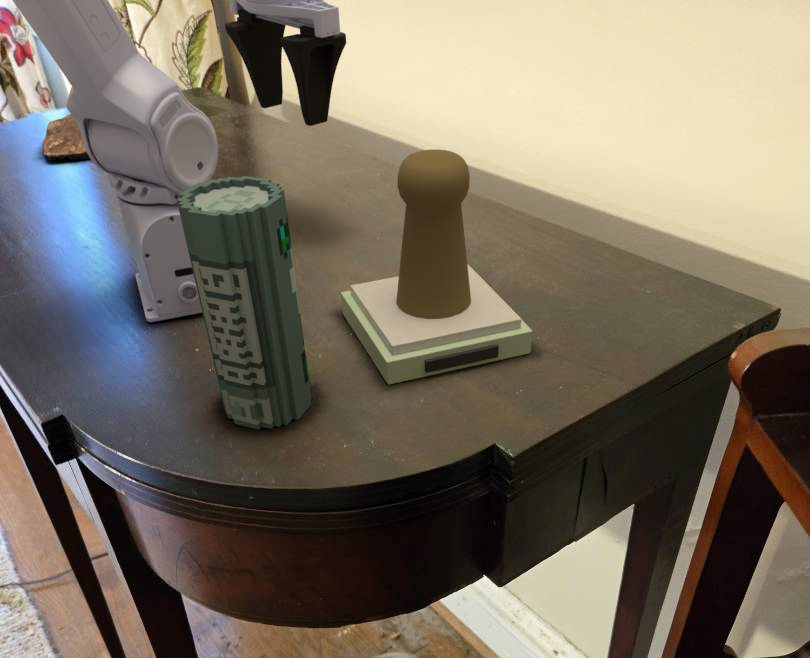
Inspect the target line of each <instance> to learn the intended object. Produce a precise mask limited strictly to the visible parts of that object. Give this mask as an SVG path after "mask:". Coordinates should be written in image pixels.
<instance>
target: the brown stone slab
mask: <svg viewBox="0 0 810 658" xmlns="http://www.w3.org/2000/svg"><path fill="white" fill-rule="evenodd" d="M45 132H46V133H45V138H44V139H43V140H42V142H41V150H42V153H43V154H42V156H43V157H44V158H45V159H46V160H48V161H60V160H64V159H66V158H68V159H69V160H70V161H74V160H85V159H86V160H87V159H90V157H89V155H88V154H87V152H86V149H85V146H84V143H83V139H82V135H81V131H80V129H79V126H78V124H77V122H76V120H75V119H74V117H73V116H72V114H71V113H70V114H67V115H65V116H64V117H62V118H59V119H58V118H57V119H54V120H50V121H48V124H47V126H46V131H45Z"/></svg>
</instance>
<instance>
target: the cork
mask: <svg viewBox="0 0 810 658" xmlns="http://www.w3.org/2000/svg"><path fill="white" fill-rule="evenodd" d="M397 173H398V174H397V180H396V181H397V190H398V193H399V197H400V198H401V200H402V201H403V202H404V204H405V209H404V211H405V212H404V221H403V229H402V231H403V232H402V242H401V250H400V252H401V253H400V262H399V271H398V276H399V280H398V290H397V300H396V304H397V306H398V307H399V309H400V310H402V311H403V312H404V313H406V314H409V315H411V316H414V317H419V318H425V319H441V318H447V317H452V316H455V315H457V314H460V313H462V312H463V311H465V310H466V309H468V307H469V305H470V304H471V294H470V285H469V275H468V265H469V264H468V256H467V247H466V246H467V245H466V238H465V237H466V236H465V228H464V217H463V208H462V203H463V202H464V200H465V199H466V197H467V196H468V193H469V189H470V179H471V178H470V170H469V165H468V164H467V162H466V159H464V158H463V156H461V155H460V154H458V153H456V152H454V151H452V150H446V149H424V150H420V151H419V150H418V151H415V152H413V153H411V154H409V155H408V156H406V157H405V158H403V160H402V161H401V163H400V165H399V168H398V171H397ZM467 264H468V265H467Z"/></svg>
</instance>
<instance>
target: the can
mask: <svg viewBox="0 0 810 658" xmlns="http://www.w3.org/2000/svg"><path fill="white" fill-rule="evenodd" d="M179 197H180V199H178V200H177V204H178V208H179V213H180V217H181V222H182V226H183V230H184V235H185V239H186V243H187V248H188V252H189V256H190V261H191V265H192V270H193V274H194V278H195V283H196V287H197V291H198V296H199V300H200V305H201V309H202V313H201V314H202V317H203V322H204V326H205V331H206V334H207V335H206V336H207V339H208V344H209V348H210V352H211V356H212V361H213V365H214V369H215V374H216V378H217V382H218V383H217V384H218V387H219V391H220V397H221V399H222V405H223V409H224V410H225V414H226V416H227V419H230V420H233V423H234V425H238V426H242V427H247V428H250V429H254V430H260V429H261V428H266V429H269V430H272V429H273V428H274V427H277V428H280V427H281V426H282V425H285V426H288V425H289V424H290V423H291V422H292V420H295V421H298V420H299V419H300V418H301V417H302V416H303V415H304V414H305V413H306V411H307V410H308V409H309V408H310V407H311V406H312V403H311V400H312V392H311V385H310V376H309V369H308V368H309V367H308V362H307V353H306V346H305V338H304V332H303V324H302V323H303V322H302V316H301V309H300V301H299V300H300V299H299V292H298V285H297V279H296V271H295V263H294V255H293V248H292V240H291V233H290V226H289V225H290V224H289V217H288V210H287V202H286V195H285V189H283V188H282V185H281V186H280V183H279V182H273V181H272V179H270V178H263V177H256V176H247V175H242V176H240V177H236V176H227V177H226V178H224V177H219V178H218V179H213V178H212V179H211V180H209V181H207V182H206V183H204V184H202V183H197V184H196V185H194V186H192V187H191V188H189V189H188V190H186V191H184V192H183V193H181V194H179Z"/></svg>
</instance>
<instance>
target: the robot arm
mask: <svg viewBox="0 0 810 658" xmlns="http://www.w3.org/2000/svg"><path fill="white" fill-rule="evenodd" d="M228 2H229V8H230V14H232V15H236V16H238V17H236V20H234V21H230V22H226V23H225V24H224V27H225V32H226V34H227V35H228V37H229V38H230V39H231V41H232V43H233V44H234V46H235V47H236V49H237V51H238V53H239V55H240V57H241V59H242V61H243V63H244V65H245V68H246V70H247V73H248V76H249V78H250V82H251V85H252V86H253V90H254V92H255V95H256V98H257V100H258V103H259V105H260V108H262V109H268V108H273V107H276V106H280V105H283V95H284V94H283V93H284V89H283V88H284V87H283V86H284V85H283V70H282V57H283V55H282V54H283V51H284V53H285V55H286V57H287V60H288V63H289V65H290V68H291V70H292V74H293V77H294V80H295V85H296V88H297V94H298V101H299V105H300V111H301V114H302V119H303V121H304V124H305V125H306V126H309V127H312V126H317V125H320V124H323V123H327V122H328V118H329V113H330V112H329V111H330V105H331V96H332V89H333V84H334V78H335V75H336V70H337V68H338V64H339V61H340V58H341V56H342V53H343V51H344V49H345V48H346V45H347V34H346V33H345V32H342V31H341V24H340V9H339V6H335V5H333V4H330V3H328V2H326V1H325V0H228ZM12 3H14V4H15V6H16V8H17V9H18V10H19V12H20V13H21V15H22V17H23V18H24V19H25V21H26V22H27V23H28V25H29V27H31V28H32V30H33V32H34V34H35V35H36V36H37V38H38V40H40V42H41V44H42V45H43V47H44V48H45V49H46V51H47V52H48V53H49V55H50V56H51V58H52V60H53V61H54V62H55V64H56V65H57V67H58V68H59V70H60V71H61V72H62V74H63V75H64V76H65V78H66V80H68V82H69V84H70V85H71V88H70V91H69V93H68V97H67V100H66V109H67V111H68V112H69V113H70V114H72V116H73V117H74V119H75V120H76V122H77V124H78V126H79V129H80V131H81V135H82V139H83V143H84V146H85V149H86V152H87V154H88V155H89V157H90V158H89V159H90V160H91V162H92V163H93V164H94V166H96V167H97V168H98V169H99V170H101V171H102V172H104V173H105V174H107V177H108V180H109V184H110V187H111V188H112V189H115V192H116V195H117V200H118V203H119V207H120V209H121V211H120V212H121V214H122V217H123V221H124V225H125V228H126V232H127V235H128V240H129V242H130V246H131V249H132V253H133V257H134V260H135V263H136V268H137V271H138V272H136V273H135V275H134V277H135V280H136V284H137V288H138V291H139V297H140V299H141V300H140V301H141V304H142V307H143V312H144V316H145V319H146V321H147V322H149V323H155V322H161V321H165V320H166V321H167V320H170V319H171V320H172V319H176V318H182V317H187V316H191V315H197V314H203V313H202V309H201V305H200V300H199V296H198V291H197V287H196V283H195V278H194V274H193V270H192V265H191V261H190V256H189V252H188V248H187V243H186V239H185V235H184V230H183V226H182V222H181V217H180V213H179V208H178V204H177V200H178V199H180V197H179V194H181V193H183V192H184V191H186V190H188V189H189V188H191V187H192V186H194V185H196V184H197V183H202V184H204V183H206V182H207V181H209V180H211V179H212V180H213V177H214V175H215V173H216V169H217V166H218V160H219V143H218V137H217V133H216V130H215V127H214V125H213V123H212V122H211V120H210V119H209V117H208V116H207V115H206V114H205V113H204V111H202V110H201V109H199V108H198V107H197V106H194V105H193V104H192V103H191V102H190V101H189V100H188V99H187V98H186V96H185V94H184V93H183V91H182V89H181V88H180V86H179V84H178V83H177V82H176V81H175V80H174V79H173V78H171V76H169V75H168V74H167V73H166V72H164V71H162V70H161V69H160V68H159V67H157V66H156V65H155V64H154V63H152V62H151V61H150V60H148V59H147V58H146V57H145V56H143V55H142V54H141V53H140V52H139V50H138V48H137V47H136V45H135V43H134V42H133V40H132V38H131V37H130V35H129V33H128V31H127V30H126V28H125V26H124V25H123V22H122V21H121V19H120V18H119V16H118V14H117V13H116V11H115V9H114V8H113V6H112V4H111V2H110V1H109V0H12ZM286 26H288V27H291V28H296V29H299V33H295V34H291V35H286V36H285V31H286V30H285V29H286Z"/></svg>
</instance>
